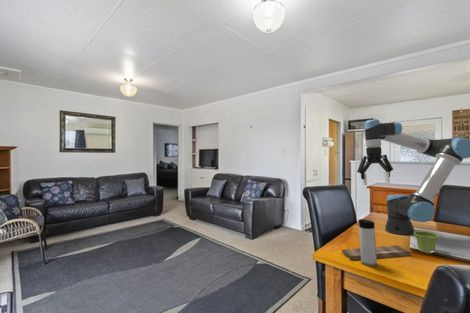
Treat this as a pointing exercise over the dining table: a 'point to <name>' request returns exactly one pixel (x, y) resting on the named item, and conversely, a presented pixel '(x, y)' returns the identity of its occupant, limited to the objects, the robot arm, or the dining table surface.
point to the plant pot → (426, 241)
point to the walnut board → (378, 252)
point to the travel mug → (367, 242)
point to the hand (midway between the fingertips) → (376, 184)
